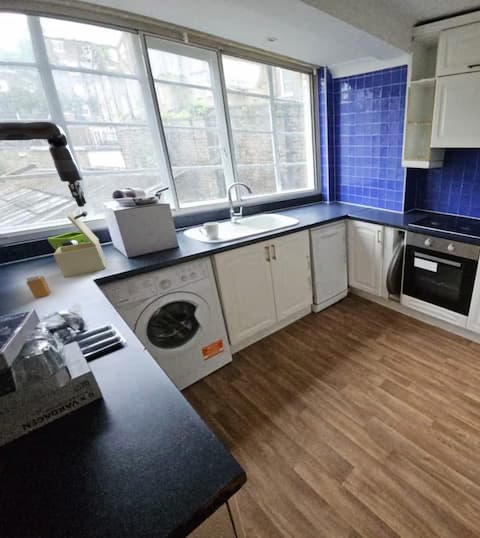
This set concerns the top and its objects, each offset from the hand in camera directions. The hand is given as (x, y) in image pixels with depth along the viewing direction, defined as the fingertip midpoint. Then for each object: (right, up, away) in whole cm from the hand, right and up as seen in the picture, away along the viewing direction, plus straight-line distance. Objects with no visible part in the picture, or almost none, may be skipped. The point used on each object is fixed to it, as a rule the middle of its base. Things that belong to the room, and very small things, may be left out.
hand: (82, 205), depth 142 cm
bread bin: (-6, -31, +8) cm, 32 cm away
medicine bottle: (-19, -27, +18) cm, 38 cm away
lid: (-2, -11, +3) cm, 12 cm away
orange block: (0, -42, -18) cm, 45 cm away
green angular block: (-28, -23, +28) cm, 46 cm away
